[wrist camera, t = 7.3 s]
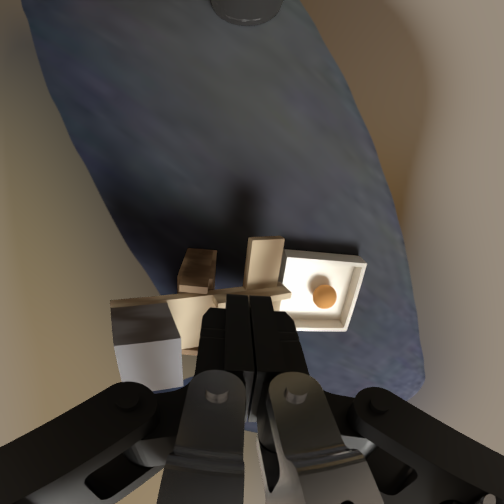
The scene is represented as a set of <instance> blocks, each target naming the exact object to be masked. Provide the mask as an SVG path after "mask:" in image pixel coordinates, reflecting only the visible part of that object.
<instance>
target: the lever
mask: <svg viewBox="0 0 504 504" xmlns="http://www.w3.org/2000/svg"><path fill="white" fill-rule="evenodd" d="M284 241H285V239H284V238H283V237H281V236H265V237H248V246H247V254H246V263H245V271H244V280H243V287H235V288H226V289H218V290H209V291H208V293H207V294H200V293H181V294H172V295H162V296H152V297H142V298H130V299H119V300H110V307H111V321H112V332H113V343H114V349H115V354H116V358H117V363H118V368H119V371H120V376H121V380H122V382H126V381H131V382H137V383H140V384H143V385H145V386H147V387H148V388H149V389H150V390H151V391H156V390H162V389H169V388H175V387H181V386H183V373H182V349H186V348H193V347H198V346H199V338H200V331H201V323H202V316H203V315H204V314H205V313H206V311H207V310H208V309H209V308H210V307H212V308H225V307H226V294H237V295H248V298H249V295H255V296H270V297H271V299H272V304H273V309H274V311H279V310H280V304H281V300H286V299H291V295H292V292H291V291H290V290H288V289H287V288H286V287H285V286H284V285H283V284H282V283H281V282H278V277H279V271H280V265H281V259H282V253H283V247H284Z"/></svg>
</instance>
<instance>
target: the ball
mask: <svg viewBox="0 0 504 504" xmlns="http://www.w3.org/2000/svg"><path fill="white" fill-rule="evenodd" d="M336 299H337V294H336V291H335V289H334V288H333V287H331V286H329V285H320V286H318V287H317V288H316V289H315V291H314V292H313V302H314V303H315V305H316V306H317V307H319V308H321V309H328V308H330V307H332V306H333V305H334V304H335V302H336Z"/></svg>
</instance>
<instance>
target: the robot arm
mask: <svg viewBox="0 0 504 504" xmlns="http://www.w3.org/2000/svg"><path fill="white" fill-rule="evenodd" d="M283 1H284V0H211V4H212V7H213V10H214V11H215V12H216V14H217V15H218V16H219V17H221V18H222V19H223V20H225V21H227V22H229V23H232V24H235V25H241V26H253V25H259V24H262V23H265V22H267V21H269V20H271V19H272V18H273V17H274V16H276V14H277V13H278V12H279V10H280V8H281V5H282V3H283ZM247 414H248V422H257V427H258V434H257V439H256V447H257V452H258V458H259V463H260V469H261V474H262V480H263V485H264V490H265V497H266V502H265V504H504V456H503V455H501V454H499V453H497V452H495V451H493V450H491V449H489V448H488V447H486V446H484V445H482V444H480V443H478V442H476V441H475V440H473V439H471V438H469V437H467V436H465V435H464V434H462V433H460V432H458V431H456V430H454V429H453V428H451V427H449V426H448V425H446V424H444V423H442V422H441V421H439V420H437V419H435V418H434V417H432V416H430V415H428V414H427V413H425V412H423V411H422V410H420V409H418V408H417V407H415V406H413V405H412V404H410V403H408V402H407V401H405V400H403V399H402V398H400V397H398V396H397V395H395V394H393V393H392V392H390V391H388V390H386V389H383V388H379V387H369V388H365V389H363V390H361V391H360V392H359V393H358V394H357V395H356V397H355V398H352V397H347V396H341V395H336V394H331V393H329V392H326V391H324V390H323V389H322V387H321V385H320V384H319V383H318V381H316V380H315V379H314V378H313V377H311V376H310V375H309V372H308V368H307V365H306V361H305V358H304V354H303V351H302V347H301V344H300V342H299V337H298V333H297V330H296V326H295V323H294V320H293V319H292V318H291V317H290V316H289V315H288V314H287V313H286V312H285V311H274V309H273V304H272V299H271V297H270V296H255V295H249V298H248V295H237V294H226V307H225V308H212V307H210V308H209V309H208V310H207V311H206V313H205V314H204V315H203V316H202V323H201V331H200V338H199V346H198V354H197V362H196V370H195V375H194V377H193V379H192V380H191V381H190V382H189V383H188V384H187V385H186V386H184V387H183V388H181V389H178V390H176V391H171V392H165V393H158V394H154V393H153V392H152V391H151V390H150V389H149V388H148V387H147V386H145V385H143V384H140V383H137V382H131V381H126V382H120V383H116V384H114V385H112V386H110V387H108V388H107V389H105V390H103V391H102V392H100V393H98V394H96V395H95V396H93V397H91V398H90V399H88V400H86V401H85V402H83V403H81V404H79V405H78V406H76V407H74V408H72V409H70V410H69V411H67V412H65V413H63V414H62V415H60V416H58V417H56V418H55V419H53V420H51V421H49V422H47V423H45V424H44V425H42V426H40V427H38V428H36V429H34V430H32V431H31V432H29V433H27V434H25V435H23V436H21V437H19V438H17V439H15V440H14V441H12V442H10V443H8V444H6V445H4V446H2V447H0V504H115V503H117V502H118V501H120V500H121V499H122V498H124V497H125V496H127V495H128V494H129V493H131V492H132V491H134V490H135V489H136V488H138V487H139V486H141V485H142V484H143V483H145V482H146V481H147V480H148V479H150V478H151V477H152V476H154V475H155V474H156V473H158V472H159V471H160V470H162V469H163V468H164V471H163V475H162V480H161V485H160V489H159V494H158V499H157V504H243V497H244V462H243V447H244V424H245V422H246V419H247Z"/></svg>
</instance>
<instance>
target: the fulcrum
mask: <svg viewBox="0 0 504 504" xmlns="http://www.w3.org/2000/svg"><path fill="white" fill-rule="evenodd" d="M216 258H217V250H207V249H195V248H188V249H187V252H186V254H185V257H184V259H183V262H182V265H181V268H180V270H179V273H178V276H177V294H181V293H200V294H207V293H208V291H209V290H214V287H215V272H216ZM182 354H185V355H195V356H197V354H198V347H193V348H186V349H182Z"/></svg>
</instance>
